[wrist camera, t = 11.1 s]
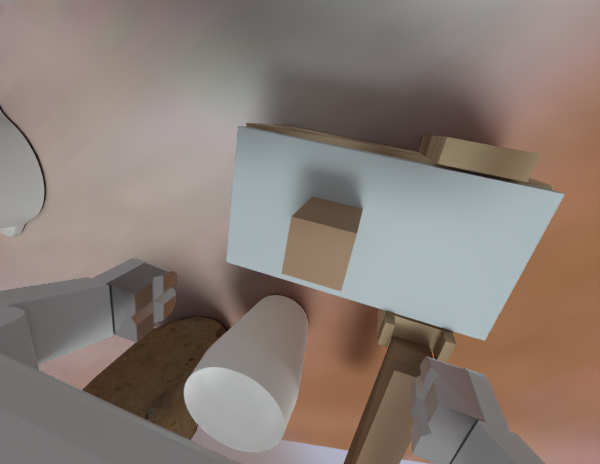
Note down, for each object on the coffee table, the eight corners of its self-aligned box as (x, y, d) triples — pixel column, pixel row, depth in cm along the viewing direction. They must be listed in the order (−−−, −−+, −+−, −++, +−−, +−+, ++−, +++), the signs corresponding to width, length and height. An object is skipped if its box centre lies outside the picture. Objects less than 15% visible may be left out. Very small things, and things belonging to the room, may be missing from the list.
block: (236, 319, 35) (79, 522, 17) (242, 367, 38) (112, 590, 19) (162, 308, 38) (-41, 473, 20) (172, 353, 40) (1, 537, 22)
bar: (341, 468, 25) (336, 509, 22) (392, 336, 19) (394, 370, 17) (370, 480, 25) (368, 524, 22) (430, 348, 19) (438, 385, 16)
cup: (323, 295, 31) (291, 386, 20) (314, 359, 34) (282, 468, 23) (246, 277, 33) (178, 351, 22) (244, 339, 36) (184, 431, 25)
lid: (233, 255, 22) (189, 293, 17) (246, 126, 19) (194, 125, 13) (478, 328, 19) (515, 402, 14) (551, 189, 15) (637, 220, 10)
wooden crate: (267, 241, 30) (217, 291, 21) (287, 108, 25) (232, 95, 16) (444, 291, 27) (476, 376, 18) (506, 149, 22) (596, 164, 13)
